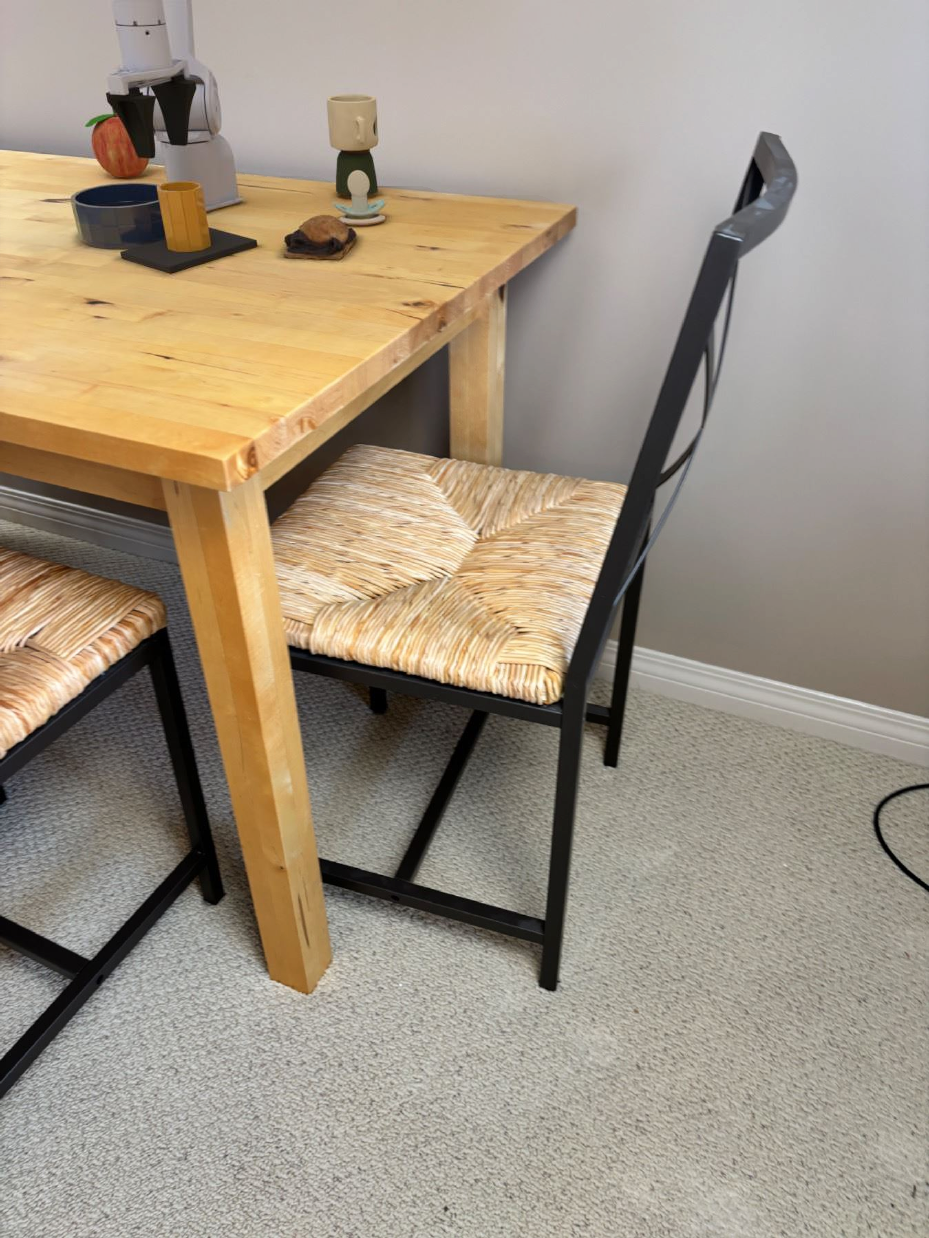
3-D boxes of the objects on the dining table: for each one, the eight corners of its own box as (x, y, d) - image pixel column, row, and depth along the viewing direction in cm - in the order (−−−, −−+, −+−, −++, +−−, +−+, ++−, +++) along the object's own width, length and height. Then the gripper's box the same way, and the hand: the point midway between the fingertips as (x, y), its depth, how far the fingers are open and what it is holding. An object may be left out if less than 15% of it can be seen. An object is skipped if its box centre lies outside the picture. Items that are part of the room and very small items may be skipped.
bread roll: (301, 234, 126) (298, 205, 123) (362, 237, 125) (360, 207, 122) (277, 258, 117) (273, 227, 115) (343, 261, 116) (340, 230, 114)
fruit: (98, 171, 153) (83, 102, 147) (158, 168, 155) (146, 100, 148) (95, 183, 146) (79, 112, 140) (158, 180, 148) (145, 109, 142)
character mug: (390, 202, 139) (386, 103, 131) (344, 206, 136) (337, 106, 128) (369, 185, 146) (364, 90, 139) (325, 189, 144) (317, 93, 136)
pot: (140, 216, 132) (132, 178, 129) (200, 232, 126) (193, 193, 123) (60, 237, 124) (50, 196, 121) (119, 255, 118) (110, 213, 114)
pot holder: (209, 233, 125) (208, 227, 125) (257, 246, 121) (256, 240, 120) (121, 258, 117) (119, 251, 116) (170, 273, 112) (169, 266, 112)
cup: (191, 237, 121) (182, 178, 117) (220, 245, 119) (211, 185, 114) (158, 246, 118) (147, 187, 114) (186, 255, 115) (176, 194, 111)
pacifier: (390, 226, 129) (383, 213, 133) (389, 178, 125) (382, 166, 129) (337, 229, 128) (332, 216, 132) (334, 180, 124) (329, 168, 128)
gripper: (145, 16, 116) (166, 138, 124) (73, 29, 105) (101, 161, 113) (196, 19, 114) (213, 141, 123) (128, 31, 103) (152, 165, 112)
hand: (163, 151), depth 118 cm, fingers open, 7 cm apart
